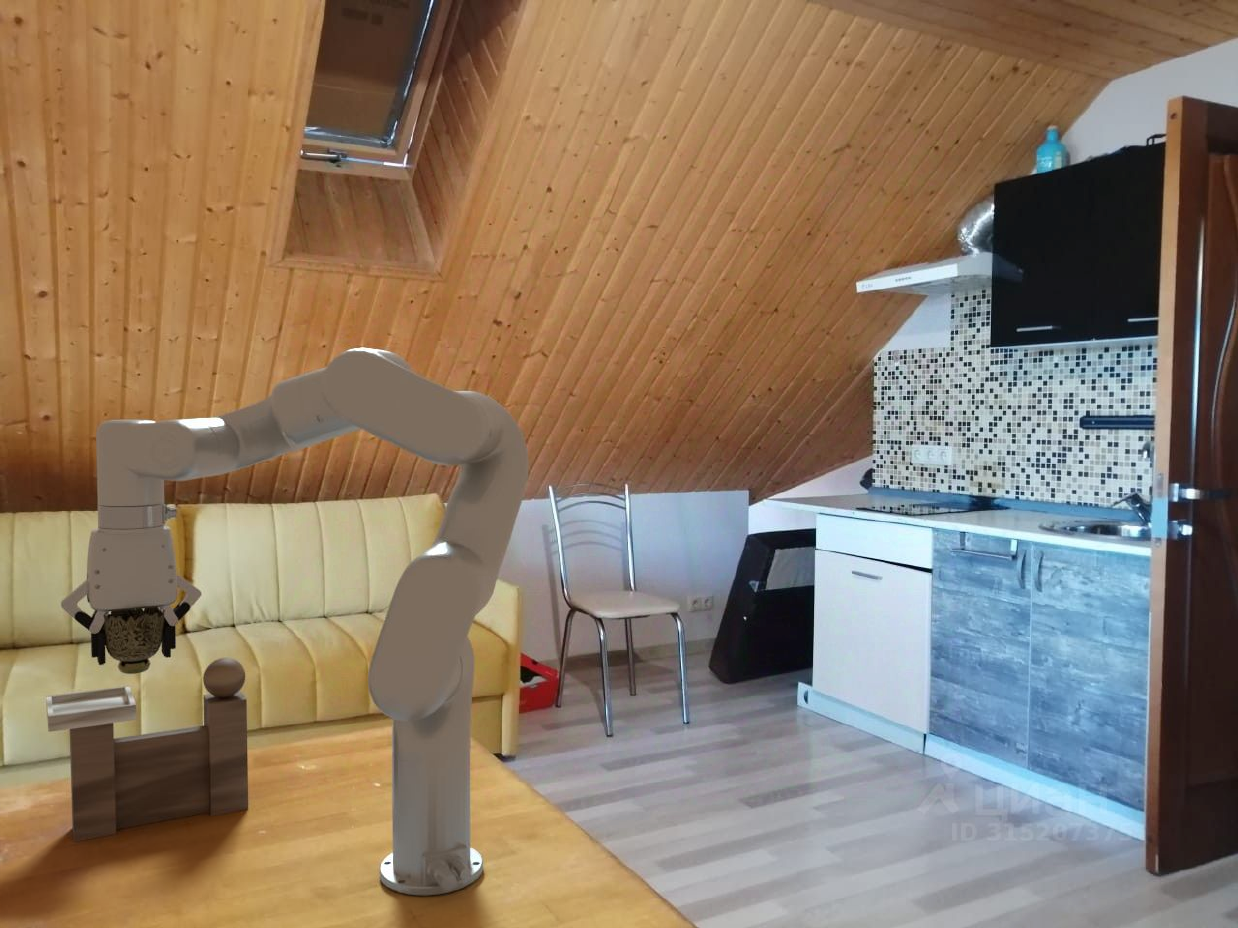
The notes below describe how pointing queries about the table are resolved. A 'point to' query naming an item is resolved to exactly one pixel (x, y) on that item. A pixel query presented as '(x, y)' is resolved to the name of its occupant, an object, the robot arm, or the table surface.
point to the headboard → (154, 757)
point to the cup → (133, 637)
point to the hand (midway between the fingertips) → (134, 657)
